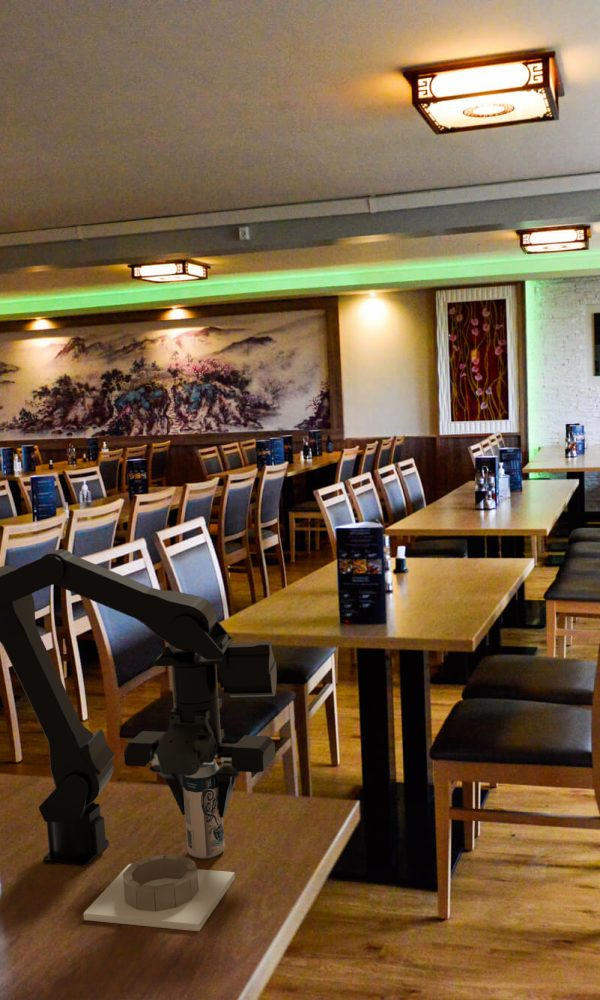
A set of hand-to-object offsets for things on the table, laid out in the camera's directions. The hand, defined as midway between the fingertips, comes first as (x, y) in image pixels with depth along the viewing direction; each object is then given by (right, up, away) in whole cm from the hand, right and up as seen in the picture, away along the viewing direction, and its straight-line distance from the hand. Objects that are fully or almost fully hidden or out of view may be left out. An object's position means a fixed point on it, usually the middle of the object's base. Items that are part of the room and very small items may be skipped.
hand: (203, 815), depth 125 cm
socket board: (-4, -6, -11) cm, 13 cm away
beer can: (0, -5, 0) cm, 5 cm away
